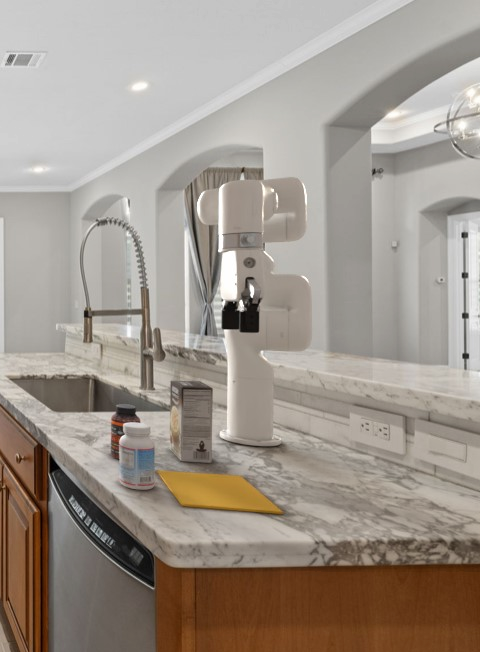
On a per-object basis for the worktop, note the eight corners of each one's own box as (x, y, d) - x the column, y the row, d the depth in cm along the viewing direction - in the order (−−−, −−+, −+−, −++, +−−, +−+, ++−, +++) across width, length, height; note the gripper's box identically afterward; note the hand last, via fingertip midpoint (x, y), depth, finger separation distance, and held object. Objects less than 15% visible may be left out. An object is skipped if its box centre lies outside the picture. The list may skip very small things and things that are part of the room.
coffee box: (168, 449, 124) (169, 379, 124) (198, 451, 123) (199, 380, 123) (180, 461, 115) (181, 386, 115) (213, 463, 114) (214, 387, 114)
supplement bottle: (104, 455, 120) (104, 404, 120) (124, 452, 122) (125, 402, 122) (125, 463, 114) (125, 409, 114) (146, 459, 117) (146, 407, 117)
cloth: (156, 472, 109) (156, 470, 109) (240, 477, 105) (240, 475, 105) (181, 506, 91) (181, 503, 91) (283, 514, 88) (283, 511, 88)
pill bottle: (152, 481, 103) (153, 422, 103) (156, 492, 97) (156, 430, 97) (118, 478, 105) (118, 420, 105) (119, 488, 99) (119, 427, 99)
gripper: (281, 239, 98) (280, 334, 98) (244, 247, 115) (243, 328, 115) (235, 240, 100) (234, 333, 100) (205, 248, 116) (204, 328, 117)
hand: (239, 330), depth 107 cm, fingers open, 9 cm apart
